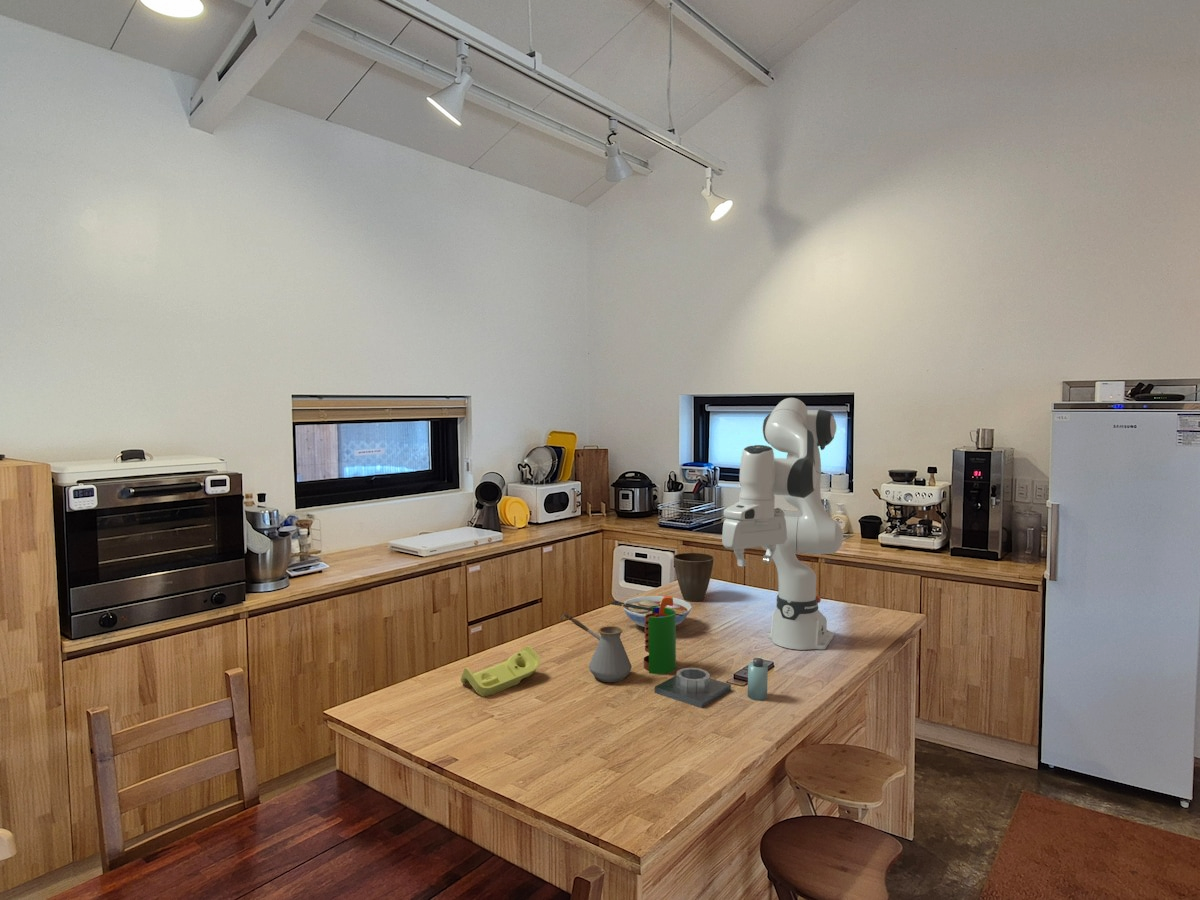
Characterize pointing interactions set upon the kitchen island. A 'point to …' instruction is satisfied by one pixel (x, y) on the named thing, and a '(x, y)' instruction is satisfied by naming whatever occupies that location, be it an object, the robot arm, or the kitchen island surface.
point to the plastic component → (503, 673)
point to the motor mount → (693, 687)
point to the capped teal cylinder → (757, 679)
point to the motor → (661, 638)
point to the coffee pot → (607, 654)
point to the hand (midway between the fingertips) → (754, 564)
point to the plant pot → (693, 574)
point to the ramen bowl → (643, 606)
